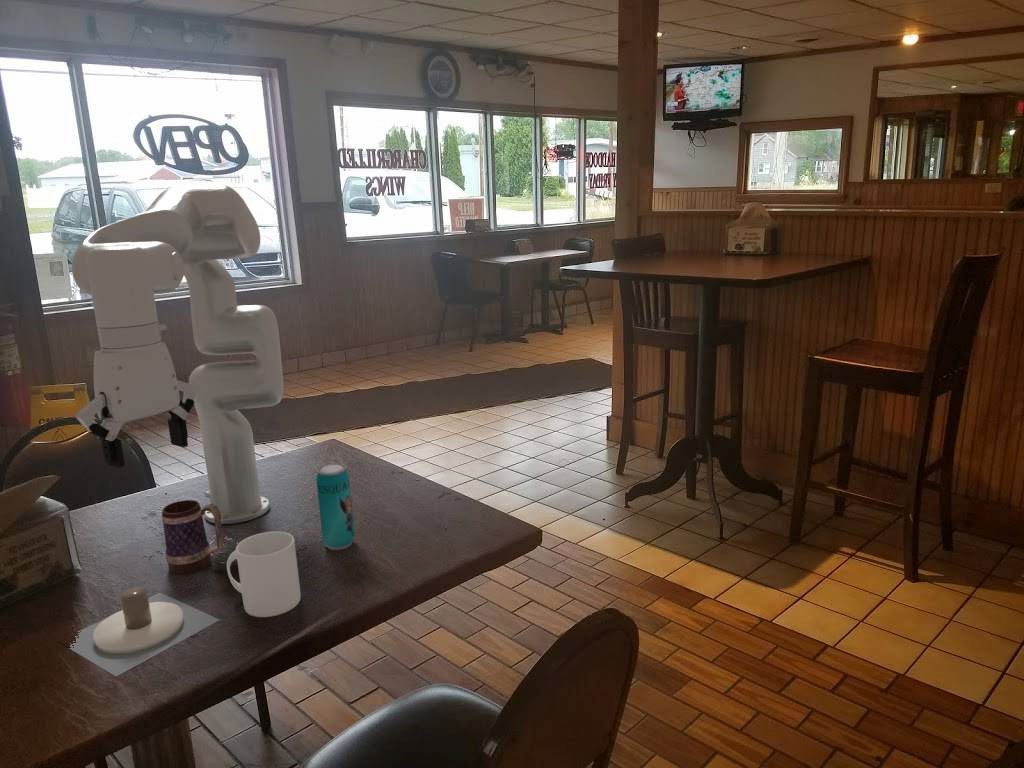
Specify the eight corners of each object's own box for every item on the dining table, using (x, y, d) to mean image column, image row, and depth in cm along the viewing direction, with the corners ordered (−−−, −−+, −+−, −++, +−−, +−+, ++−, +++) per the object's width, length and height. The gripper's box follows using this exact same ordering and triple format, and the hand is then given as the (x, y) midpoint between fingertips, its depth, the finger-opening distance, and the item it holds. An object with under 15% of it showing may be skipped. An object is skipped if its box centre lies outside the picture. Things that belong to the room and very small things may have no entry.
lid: (78, 638, 109) (70, 600, 107) (155, 601, 119) (149, 566, 117) (122, 663, 102) (115, 623, 101) (200, 622, 112) (194, 584, 110)
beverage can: (347, 552, 134) (339, 474, 130) (318, 550, 135) (309, 473, 131) (360, 538, 139) (353, 463, 136) (331, 537, 140) (324, 462, 137)
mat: (58, 644, 109) (57, 641, 108) (160, 595, 121) (160, 592, 121) (116, 680, 100) (116, 676, 100) (220, 623, 113) (220, 619, 112)
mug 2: (248, 586, 123) (240, 526, 121) (312, 595, 120) (305, 534, 117) (214, 613, 115) (204, 550, 113) (280, 624, 112) (272, 559, 109)
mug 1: (160, 577, 127) (149, 512, 125) (182, 558, 134) (173, 496, 131) (216, 579, 126) (206, 513, 123) (236, 559, 133) (227, 496, 130)
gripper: (171, 326, 111) (187, 435, 115) (50, 346, 97) (73, 470, 101) (202, 328, 107) (217, 442, 111) (81, 350, 93) (104, 479, 97)
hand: (149, 455), depth 106 cm, fingers open, 9 cm apart
